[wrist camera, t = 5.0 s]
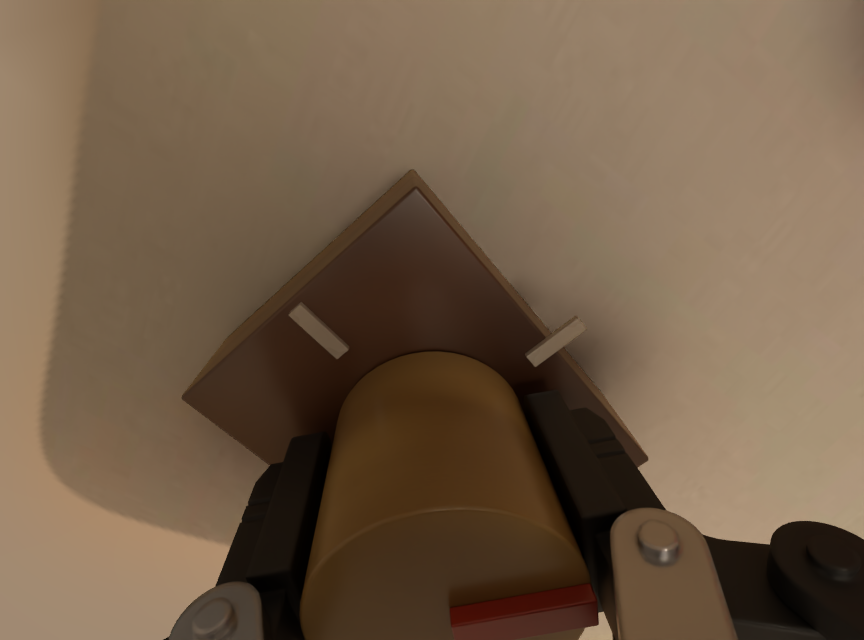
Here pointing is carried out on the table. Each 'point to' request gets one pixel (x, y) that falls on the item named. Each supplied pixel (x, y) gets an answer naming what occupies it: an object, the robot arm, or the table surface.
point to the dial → (441, 516)
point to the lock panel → (384, 328)
